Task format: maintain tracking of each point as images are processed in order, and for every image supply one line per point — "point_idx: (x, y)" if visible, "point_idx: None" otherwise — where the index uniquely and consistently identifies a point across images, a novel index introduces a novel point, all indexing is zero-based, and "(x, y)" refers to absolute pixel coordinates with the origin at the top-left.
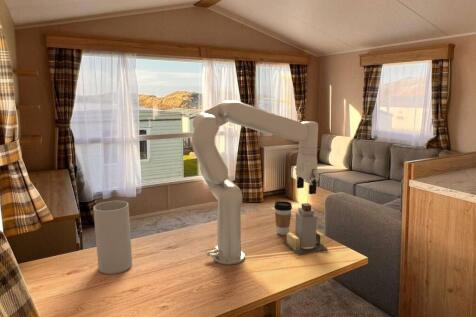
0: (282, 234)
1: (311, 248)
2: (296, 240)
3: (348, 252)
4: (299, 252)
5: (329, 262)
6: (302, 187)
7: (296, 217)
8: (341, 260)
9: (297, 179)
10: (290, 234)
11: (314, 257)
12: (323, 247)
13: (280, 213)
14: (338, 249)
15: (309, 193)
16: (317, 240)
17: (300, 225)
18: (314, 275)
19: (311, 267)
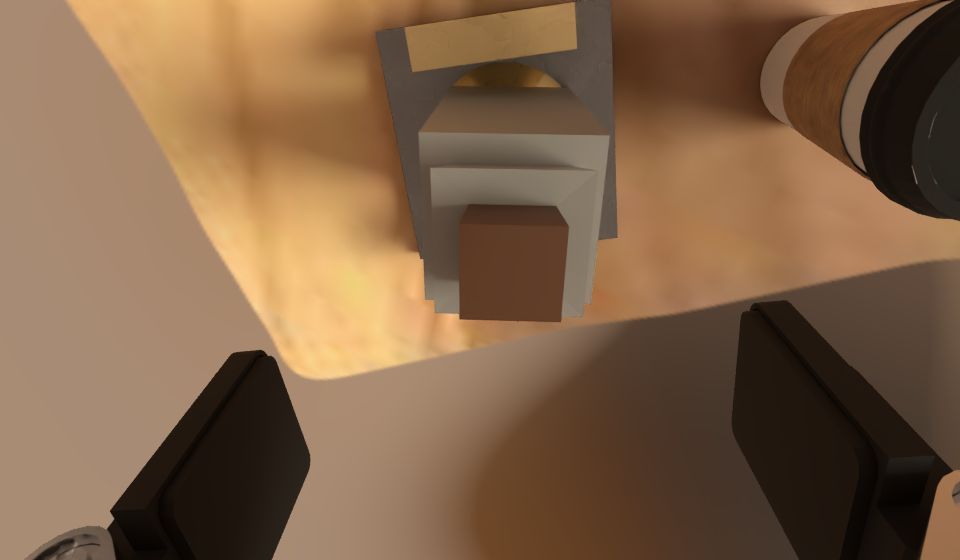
0: (770, 52)
1: None
2: (407, 33)
3: (371, 345)
4: (385, 42)
5: (260, 189)
6: (733, 411)
7: (580, 124)
8: (279, 265)
9: (900, 456)
10: (524, 22)
11: (335, 129)
12: None
13: (893, 36)
14: (418, 316)
15: (233, 355)
16: None
17: (463, 114)
18: (92, 17)
19: (199, 45)
